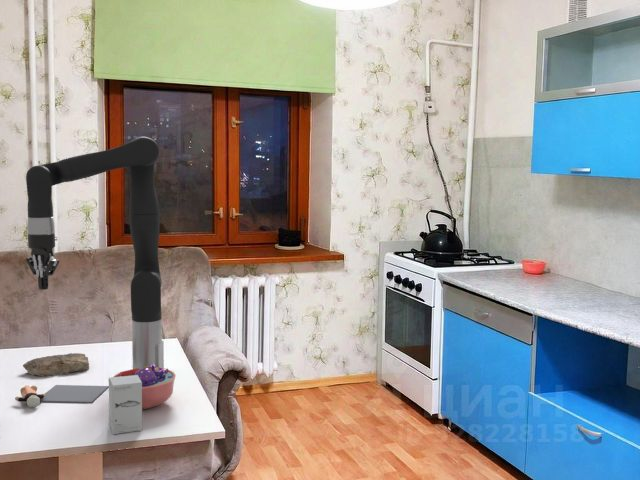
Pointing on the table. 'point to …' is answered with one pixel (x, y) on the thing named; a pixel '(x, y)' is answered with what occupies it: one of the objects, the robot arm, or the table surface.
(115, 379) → the supplement box
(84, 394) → the felt mat
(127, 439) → the table surface
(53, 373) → the clay tablet
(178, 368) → the table surface
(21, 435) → the table surface
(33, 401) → the grandmother figurine
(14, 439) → the table surface
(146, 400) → the cell model
